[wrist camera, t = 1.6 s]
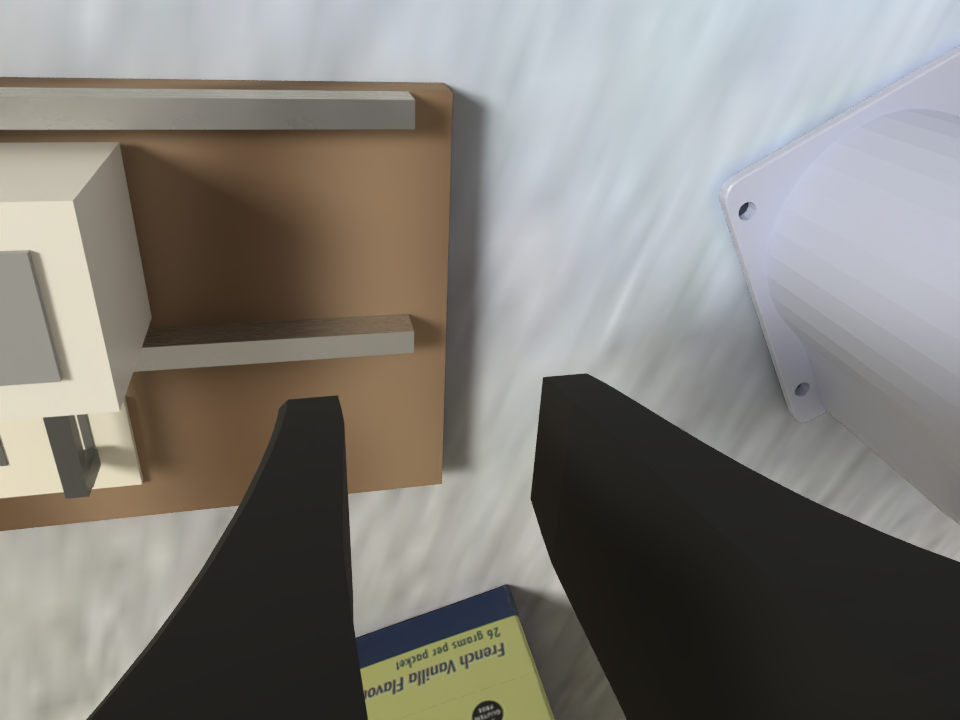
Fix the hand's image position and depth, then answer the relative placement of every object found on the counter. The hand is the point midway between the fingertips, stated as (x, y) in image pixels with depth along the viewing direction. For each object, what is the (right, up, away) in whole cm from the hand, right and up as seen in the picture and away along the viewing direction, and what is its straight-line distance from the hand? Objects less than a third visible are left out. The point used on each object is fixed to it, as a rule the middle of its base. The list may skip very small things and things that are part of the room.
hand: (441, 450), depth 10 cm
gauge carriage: (-9, +2, +7) cm, 12 cm away
